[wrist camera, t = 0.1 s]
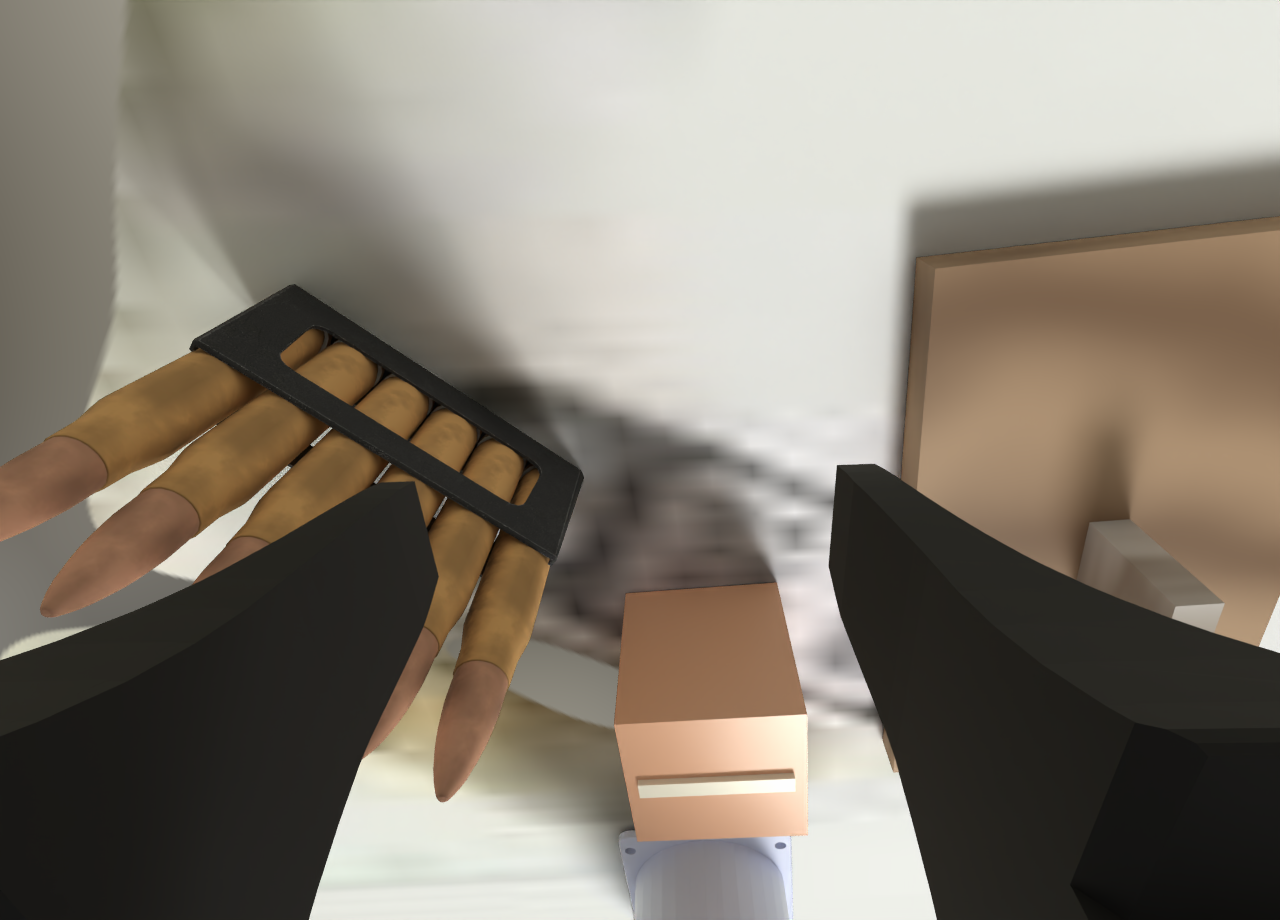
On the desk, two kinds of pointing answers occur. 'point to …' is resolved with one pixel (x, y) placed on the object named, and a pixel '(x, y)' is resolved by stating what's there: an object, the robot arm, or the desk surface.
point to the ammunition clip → (316, 487)
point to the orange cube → (711, 715)
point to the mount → (1111, 412)
